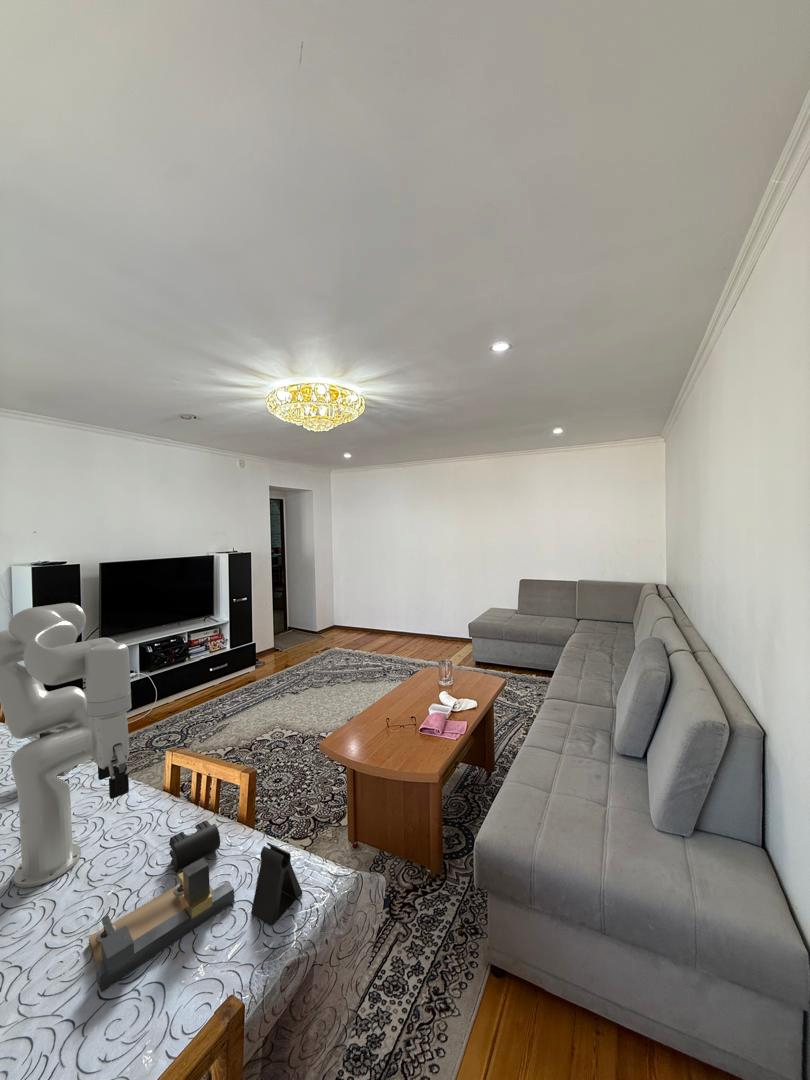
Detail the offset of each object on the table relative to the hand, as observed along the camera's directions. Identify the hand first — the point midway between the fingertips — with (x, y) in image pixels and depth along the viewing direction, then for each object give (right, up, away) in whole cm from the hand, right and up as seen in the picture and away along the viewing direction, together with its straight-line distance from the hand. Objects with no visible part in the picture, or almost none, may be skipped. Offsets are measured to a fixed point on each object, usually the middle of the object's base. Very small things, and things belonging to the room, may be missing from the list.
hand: (113, 785), depth 88 cm
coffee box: (-56, -29, +55) cm, 84 cm away
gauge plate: (+9, -28, 0) cm, 29 cm away
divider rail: (+12, -28, -2) cm, 30 cm away
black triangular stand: (+33, -27, +3) cm, 43 cm away
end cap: (+9, -28, +16) cm, 34 cm away
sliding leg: (+15, -26, +2) cm, 30 cm away
